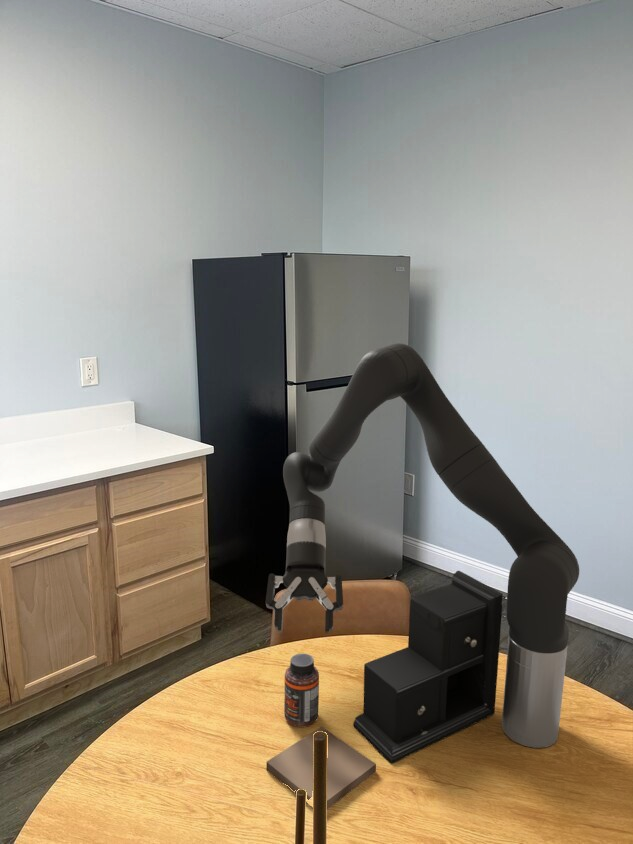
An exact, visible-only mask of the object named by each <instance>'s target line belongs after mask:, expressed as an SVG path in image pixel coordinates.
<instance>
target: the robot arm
mask: <svg viewBox="0 0 633 844" xmlns="http://www.w3.org/2000/svg"><path fill="white" fill-rule="evenodd" d="M398 397H400V398H401V399H402V400H403V401H404V402H405V403H406V404H407V406H408V407H409V408H410V410H411V411H412V412H413V414H414V415H415V417H416V418H417V421H418V422H419V425H420V426H421V429H422V433H423V437H424V441H425V446H426V452H427V455H428V458H429V461H430V463H431V466H432V468H433V469H434V471H435V473H436V475H437V476H438V477H439V478H440V480H442V483H443V484H444V485H445V486H446V488H447V489H448V490H449V492H451V494H452V495H453V496H454V497H455V498H456V499H457V500H458V501H459V502H460V503H461V504H462V505H463V506H465V507H466V508H468V509H469V510H470V511H472V512H473V513H475V514H476V515H477V516H479V517H480V518H482V519H484V520H485V521H486V522H488V523H489V524H491V525H492V526H493V527H494V528H495V529H496V530H497V531H498V532H499V533H500V534H501V536H503V538H504V539H505V540H506V542H507V543H508V545H510V547H511V548H512V551H513V552H514V553H515V555H516V556H517V557H516V558H515V560H514V561H513V562H512V564H511V566H510V569H509V573H508V580H507V582H508V583H507V593H506V594H507V598H506V600H507V601H506V620H507V623H508V627H509V629H508V639H507V640H508V641H507V651H506V652H507V653H506V654H507V655H506V668H505V678H504V679H505V680H504V687H503V688H504V689H503V690H504V691H503V702H502V715H501V728H502V730H503V732H504V733H505V735H506V736H507V737H508V738H509V739H510V740H512V741H513V742H515V743H517V744H519V745H522V746H524V747H529V748H534V749H541V748H547V747H551V746H552V745H554V744H555V743H557V741H558V739H559V730H560V722H561V714H562V713H561V712H562V702H563V693H564V684H565V676H566V675H565V674H566V665H567V653H568V644H569V633H570V630H569V627H568V625H567V623H566V615H567V604H568V597H569V596H568V595H569V594H570V592H571V591H572V590H573V588H574V587H575V585H576V583H577V582H578V580H579V578H580V577H579V576H580V566H579V562H578V559H577V557H576V555H575V553H574V552H573V550H572V549H571V548H570V547H569V546H568V545H567V543H566V542H565V541H564V540H563V539H562V538H561V537H560V536H559V535H558V534H557V533H556V532H555V530H553V528H551V527H550V525H548V523H547V522H546V521H545V520H544V519H543V518H542V517H541V516H540V515H539V514H538V513H537V512H536V511H535V509H534V508H533V507H532V506H531V505H530V503H529V502H528V500H526V499H525V497H524V496H523V494H522V493H521V491H520V490H519V489H518V488H517V487H516V485H515V483H514V482H513V481H512V480H511V479H510V478H509V476H508V475H507V473H506V472H505V471H504V469H502V467H501V466H500V464H499V463H498V461H497V460H496V458H495V457H494V456H493V455H492V453H491V452H490V451H489V449H488V448H486V446H485V445H484V443H483V442H482V441H481V440H480V439H479V438H478V436H477V435H476V434H475V432H474V431H473V430H472V429H471V427H469V424H467V422H466V421H465V420H464V418H463V417H462V416H461V414H460V413H459V412H458V410H457V409H456V407H454V405H453V404H452V403H451V401H450V400H449V398H448V397H447V396H446V394H445V393H444V391H443V389H442V388H441V387H440V384H439V383H438V381H437V379H435V377H434V375H433V373H432V372H431V370H430V369H429V367H428V365H427V364H426V363H425V361H424V360H423V358H422V357H421V355H420V354H419V353H418V352H417V351H416V350H415V349H414V348H413V347H411V346H410V345H408V344H405V343H400V342H399V343H392V344H389V345H386V346H383V347H379V348H376V349H372V350H370V351H368V352H367V353H365V354H364V356H362V358H361V360H360V361H359V362H358V364H357V366H356V368H355V370H354V372H353V374H352V376H351V378H350V381H349V382H348V385H347V387H346V388H345V390H344V392H343V394H342V396H341V398H340V400H339V401H338V404H337V405H336V406H335V409H334V410H333V411H332V414H330V416H329V417H328V418H327V420H326V421H325V423H324V424H323V425H322V426H321V428H320V429H319V430H318V431H317V432H316V434H315V435H314V436H313V439H312V440H311V442H310V443H309V449H308V450H309V453H304V452H301V451H300V452H299V451H295V452H292V453H290V454H289V455H287V457H286V459H285V461H284V463H283V468H282V476H283V483H284V487H285V490H286V494H287V499H288V503H289V520H288V521H289V523H288V531H287V538H286V541H287V542H286V555H285V556H286V560H285V572H284V574H283V576H282V575H276V574H275V573H269V574H268V578H267V587H266V595H265V606H266V608H267V609H270V610H273V611H274V619H273V620H274V623H273V625H274V629H276V630H277V632H278V633H283V623H284V622H283V620H284V611H283V610H284V608H286V606H288V605H289V604H290V602H291V601H292V600H293V599H294V600H296V601H304V600H307V601H314V600H317V601H318V602H319V603H320V605H321V606H322V607H323V608H324V610H325V619H324V621H325V623H324V624H325V627H324V628H325V629H324V633H325V634H330V631H333V628H334V613H335V612H337V611H341V610H343V608H344V595H343V593H344V592H343V579H342V575H340V574H337V575H336V576H327V574H326V559H327V558H326V552H327V551H326V550H327V549H326V548H327V543H326V542H327V541H326V540H327V538H326V537H327V536H326V527H325V526H326V522H325V521H326V506H325V501H324V500H323V498H321V497H320V496H318V495H317V494H315V493H314V492H318V493H319V492H325V491H326V490H328V489H330V487H331V486H332V484H333V481H334V478H335V476H336V472H337V470H338V467H339V466H340V462H342V460H343V458H344V457H346V455H347V454H348V453H349V452H350V450H351V449H352V448H353V446H355V444H356V442H358V441H357V440H358V439H359V436H360V434H361V431H362V427H363V424H364V422H365V421H366V419H367V418H368V417H369V416H370V415H371V414H372V413H373V412H374V411H375V410H376V409H378V407H381V405H383V404H384V403H385V402H387V401H390V400H394V399H397V398H398ZM312 491H313V492H312ZM280 584H283V585H284V587H285V588H286V590H284V592H283V594H281V597H279V599H278V600H277V601H276V600H274V599H275V591H276V589H278V588H279V587H280ZM328 584H329V585H330V587H331V589H332V590H335V601H334V602H332V601H331V600H330V599H329V597H328V596H327V594H326V592H325V591H324V590H325V588H326V587H327V586H328Z"/></svg>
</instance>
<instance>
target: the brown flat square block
mask: <svg viewBox="0 0 633 844" xmlns="http://www.w3.org/2000/svg"><path fill="white" fill-rule="evenodd" d="M317 731H323V732H326V733H327V735H328V758H327V810H329V809H330V808H331V807H333V806H334V805H335V804H337V803H339V801H340V800H342V799H343V798H344V797H346V796H347V795H348V794H349V793H351V792H352V791H353V790H355V789H356V788H357V787H359V786H360V785H361V784H363V783H364V782H365V781H366V780H369V778H370V777H372V776H373V775H375V773H376V771H377V763H375V762H374V761H372V760H371V759H370V758H368V757H367V756H366V755H364V754H362V752H359V750H357V749H355V748H354V747H352V746H351V745H349V744H348V743H346V742H345V741H343V740H342V739H341V738H339V737H338V736H336V735H335V734H333V733H332V732H330V731H329V730H327V729H326V728H325V727H323V726H320V727H319V728H317V729H315V730H314V731H312V732H311V733H309V734H307V735H305V737H303V738H301V739H300V740H298V741H297V742H294V744H292V745H290V746H289V747H288V748H285V749H284V750H283V751H280V753H278V754H276V755H275V756H273V757H271V758H270V759H268V760H266V768H265V769H266V771H267V772H268V771H269V774H270V775H272V776H273V777H274V776H275V777H274V778H276V779H277V780H278V781H279V782H280V781H281V783H282V784H283V783H284V784H286V785H288V786H289V787H290V788H291V789H292V790H293V791H295V790H296V791H297V790H298V789H304V790H306V792H307V799H308V800H309V799H310V798H311V797H312V791H313V734H314V733H315V732H317ZM284 784H283V785H284ZM293 791H292V792H293ZM296 791H295V793H294V795H296Z"/></svg>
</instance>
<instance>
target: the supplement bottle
mask: <svg viewBox="0 0 633 844" xmlns="http://www.w3.org/2000/svg"><path fill="white" fill-rule="evenodd" d="M289 663H290V664H289V666H288V667H287V668H286V670H285V671H284V672H285V673H284V706H283V707H284V709H283V710H284V711H283V712H284V718H285V720H286V722H287V723H288V724H290V726H293V727H297V728H298V727H299V728H304V727H309V726H311V725H313V724H315V723H316V721H318V718H319V703H320V702H319V700H320V699H319V698H320V696H319V695H320V694H319V693H320V692H319V691H320V672H319V671H318V669H317V668H316V666H315V664H314V663H315V660H314V657H313V656H312V655H311V654H307V653H302V652H301V653H296V654H294V655H292V656H291V657H290V662H289Z"/></svg>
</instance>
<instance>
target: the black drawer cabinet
mask: <svg viewBox="0 0 633 844" xmlns="http://www.w3.org/2000/svg"><path fill="white" fill-rule="evenodd" d="M502 613H503V593H502V592H500V591H498V590H497V589H494V588H492V587H490V586H489V585H487V584H486V583H483V582H481V581H479V580H478V579H476V578H474V577H472V576H470V575H468V574H467V573H465V572H462V571H461V570H456V571H455V572H454V573H453V575H452V576H451V583H450V584H446V585H443V586H441V587H437V588H433V589H432V590H428V591H425V592H422V593H418V594H416V595H412V596H411V597H410V599H409V613H408V614H409V617H408V618H409V619H408V621H409V622H408V641H407V643H408V644H407V647H405V648H402V649H399V650H396V651H394V652H392V653H387V654H386V655H384V656H381V657H378V658H375V659H373V660H371V661H368V662H366V663H364V665H363V711H362V712H363V713H361V714H359V715H357V716H356V717H355V718H354V721H353V724H352V727H353V729H355V730H356V731H357V732H358V733H359V734H360V735H361V736H362V737H363V738H364V739H365V740H366V741H367V742H368V743H369V744H370V745H371V746H372V747H373V748H374V749H375V750H376V751H377V752H378V753H379V754H381V756H382V757H383V758H385V760H386V761H388V762H389V764H391V765H392V764H395V763H397V762H399V761H400V760H403V759H405V758H407V757H409V756H411V755H413V754H415V753H417V752H419V751H421V750H423V749H425V748H427V747H430V746H431V745H434V744H436V743H438V742H440V741H441V740H444V739H446V738H448V737H450V736H452V735H454V734H456V733H459V732H460V731H463V730H464V729H467V728H469V727H471V726H473V725H475V724H476V723H479V722H481V721H483V720H485V719H487V718H489V717H491V716H493V715H495V710H496V709H495V708H496V700H497V699H496V698H497V686H498V685H497V683H498V671H499V656H500V655H499V654H500V644H501V643H500V641H501V629H502V617H503V615H502Z"/></svg>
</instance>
